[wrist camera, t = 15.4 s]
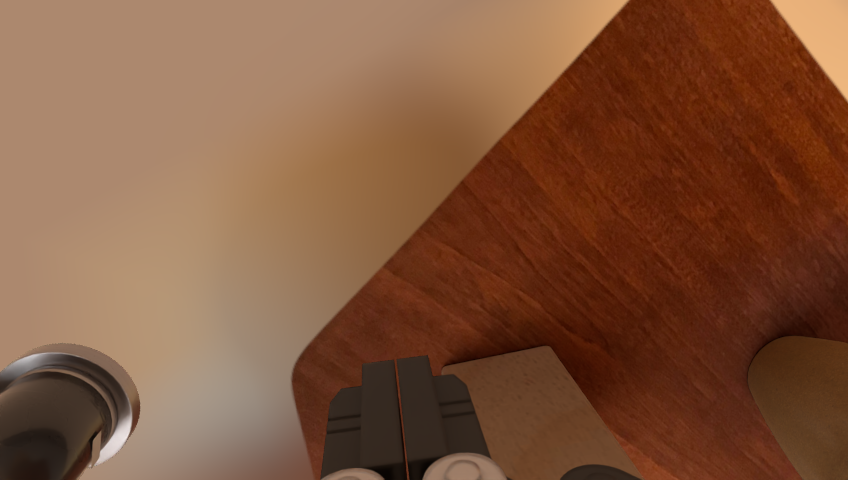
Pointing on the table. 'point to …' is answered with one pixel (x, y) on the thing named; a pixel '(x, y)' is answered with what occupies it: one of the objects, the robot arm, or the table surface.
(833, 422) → the plant pot
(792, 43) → the table surface
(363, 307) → the table surface
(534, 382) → the wooden block
